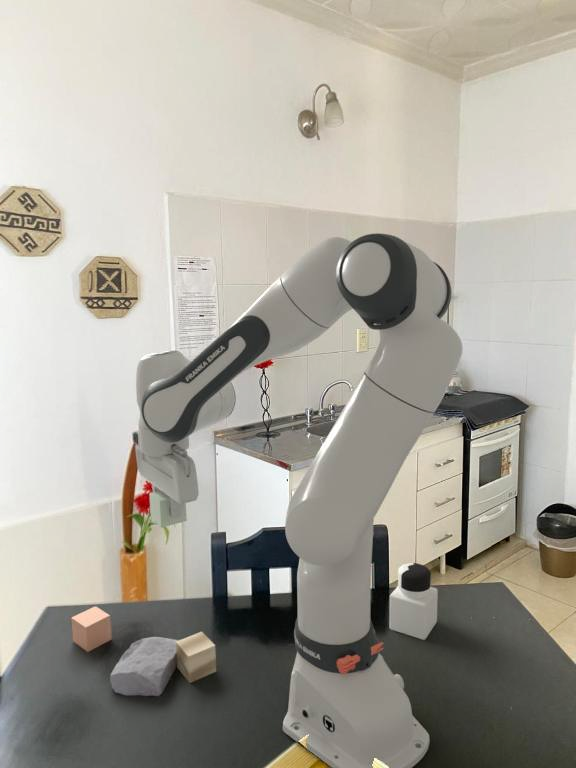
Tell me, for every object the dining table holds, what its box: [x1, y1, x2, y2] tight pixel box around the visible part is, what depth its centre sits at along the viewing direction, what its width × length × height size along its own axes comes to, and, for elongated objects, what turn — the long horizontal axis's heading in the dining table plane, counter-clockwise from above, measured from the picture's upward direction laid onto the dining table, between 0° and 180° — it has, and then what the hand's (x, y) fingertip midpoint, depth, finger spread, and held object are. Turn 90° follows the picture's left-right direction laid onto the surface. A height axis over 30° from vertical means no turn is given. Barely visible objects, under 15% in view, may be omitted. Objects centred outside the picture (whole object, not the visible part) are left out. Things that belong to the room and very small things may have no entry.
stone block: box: [109, 636, 179, 697], centre depth 99 cm, size 12×5×10 cm
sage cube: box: [148, 491, 188, 528], centre depth 107 cm, size 5×5×5 cm
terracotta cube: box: [70, 606, 113, 653], centre depth 108 cm, size 5×5×5 cm
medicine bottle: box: [389, 562, 439, 641], centre depth 110 cm, size 7×7×12 cm
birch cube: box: [176, 631, 217, 684], centre depth 99 cm, size 5×5×5 cm
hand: (168, 511), depth 107 cm, fingers closed on sage cube, 5 cm apart
